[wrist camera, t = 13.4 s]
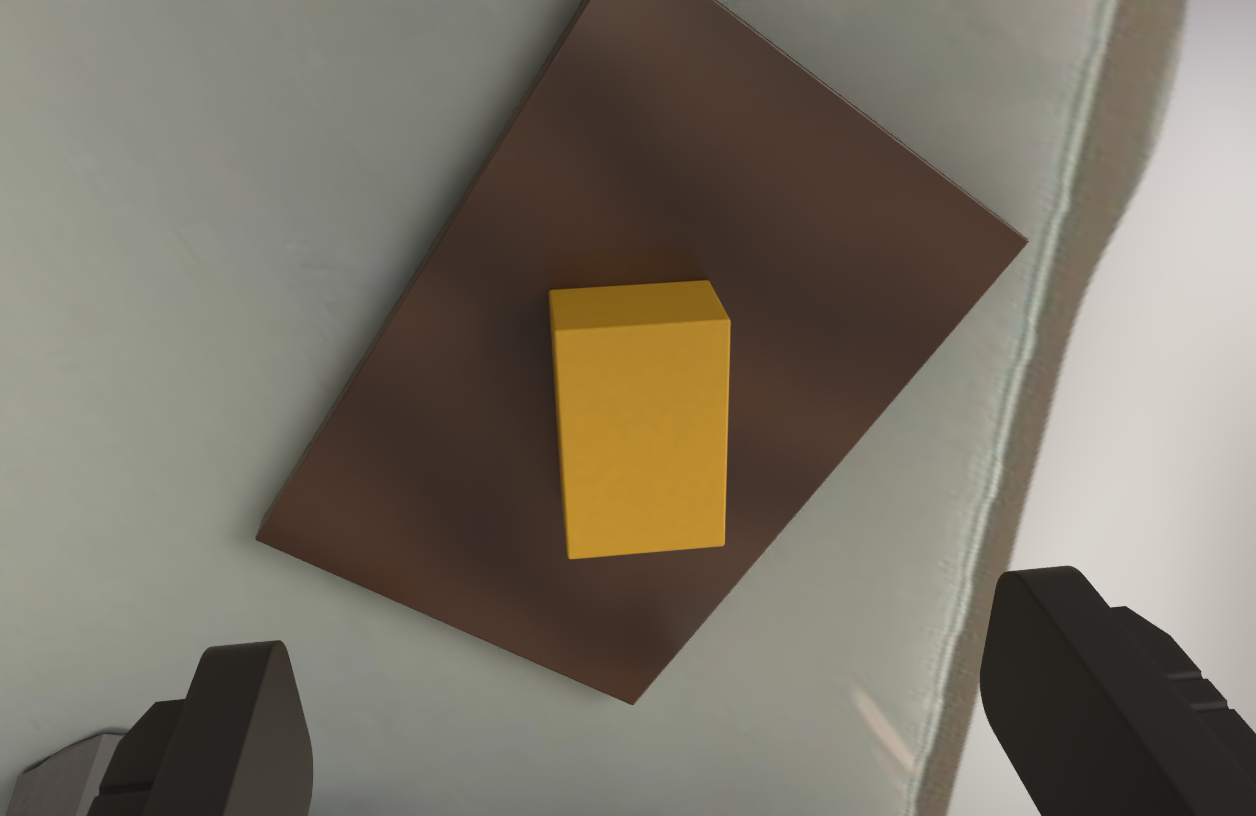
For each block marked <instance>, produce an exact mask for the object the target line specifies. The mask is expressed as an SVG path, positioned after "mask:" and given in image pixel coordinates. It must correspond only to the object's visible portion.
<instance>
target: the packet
mask: <svg viewBox="0 0 1256 816" xmlns="http://www.w3.org/2000/svg"><path fill="white" fill-rule="evenodd" d="M548 295H549V310H550V326H551V341H552V357H553V373H554V388H555V404H556V419H557V435H558V451H559V466H560V482H561V497H562V509H563V519H564V528H565V538H566V548H567V557H568V558H569V559H581V558H593V557H604V556H616V555H627V554H638V553H650V552H661V551H673V550H684V549H696V548H707V547H719V546H724V544H725V515H726V477H727V440H728V402H729V364H730V326H731V321H730V319H729V317H728V315H727V313H726V312H725V310H724V308H723V306H722V304H721V302H720V300H719V299H718V297H717V295H716V293H715V291H714V289H713V287H712V286H711V284H710V282H709V281H708V280H702V281H686V282H670V283H654V284H638V285H622V286H606V287H590V288H574V289H558V290H550V291H549V293H548Z"/></svg>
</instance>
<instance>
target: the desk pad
mask: <svg viewBox="0 0 1256 816" xmlns="http://www.w3.org/2000/svg"><path fill="white" fill-rule="evenodd" d="M1028 242H1029V241H1028V239H1027V238H1026V237H1024V236H1023V235H1022V234H1020V233H1019V232H1018V231H1017V230H1015V229H1014V228H1013V227H1011V226H1010V225H1009V224H1007V223H1006V222H1005V221H1004V220H1002V219H1001V218H1000V217H998V216H997V215H996V214H994V213H993V212H992V211H991V210H989V209H988V208H987V207H985V206H984V205H983V204H981V203H980V202H979V201H977V200H976V199H975V198H974V197H972V196H971V195H970V194H968V193H967V192H966V191H964V190H963V189H962V188H961V187H959V186H958V185H957V184H955V183H954V182H953V181H951V180H950V179H949V178H948V177H946V176H945V175H944V174H942V173H941V172H940V171H938V170H937V169H936V168H934V167H933V166H932V165H931V164H929V163H928V162H927V161H925V160H924V159H923V158H921V157H920V156H919V155H918V154H916V153H915V152H914V151H912V150H911V149H910V148H908V147H907V146H906V145H905V144H903V143H902V142H901V141H899V140H898V139H897V138H895V137H894V136H893V135H891V134H890V133H889V132H888V131H886V130H885V129H884V128H882V127H881V126H880V125H878V124H877V123H876V122H875V121H873V120H872V119H871V118H869V117H868V116H867V115H865V114H864V113H863V112H862V111H860V110H859V109H858V108H856V107H855V106H854V105H852V104H851V103H850V102H848V101H847V100H846V99H845V98H843V97H842V96H841V95H839V94H838V93H837V92H835V91H834V90H833V89H832V88H830V87H829V86H828V85H826V84H825V83H824V82H822V81H821V80H820V79H818V78H817V77H816V76H815V75H813V74H812V73H811V72H809V71H808V70H807V69H805V68H804V67H803V66H802V65H800V64H799V63H798V62H796V61H795V60H794V59H792V58H791V57H790V56H789V55H787V54H786V53H785V52H783V51H782V50H781V49H779V48H778V47H777V46H775V45H774V44H773V43H772V42H770V41H769V40H768V39H766V38H765V37H764V36H762V35H761V34H760V33H759V32H757V31H756V30H755V29H753V28H752V27H751V26H749V25H748V24H747V23H746V22H744V21H743V20H742V19H740V18H739V17H738V16H736V15H735V14H734V13H732V12H731V11H730V10H729V9H727V8H726V7H725V6H723V5H722V4H721V3H719V2H718V1H717V0H583V2H582V3H581V5H580V6H579V8H578V10H577V11H576V13H575V15H574V16H573V18H572V19H571V21H570V23H569V24H568V26H567V27H566V29H565V31H564V32H563V34H562V36H561V37H560V39H559V40H558V42H557V44H556V45H555V47H554V49H553V50H552V52H551V53H550V55H549V57H548V58H547V60H546V62H545V63H544V65H543V66H542V68H541V70H540V71H539V73H538V74H537V76H536V78H535V79H534V81H533V83H532V84H531V86H530V87H529V89H528V91H527V92H526V94H525V96H524V97H523V99H522V100H521V102H520V104H519V105H518V107H517V108H516V110H515V112H514V113H513V115H512V117H511V118H510V120H509V121H508V123H507V125H506V126H505V128H504V130H503V131H502V133H501V134H500V136H499V138H498V139H497V141H496V142H495V144H494V146H493V147H492V149H491V151H490V152H489V154H488V155H487V157H486V159H485V160H484V162H483V164H482V165H481V167H480V168H479V170H478V172H477V173H476V175H475V177H474V178H473V180H472V181H471V183H470V185H469V186H468V188H467V189H466V191H465V193H464V194H463V196H462V198H461V199H460V201H459V202H458V204H457V206H456V207H455V209H454V211H453V212H452V214H451V215H450V217H449V219H448V220H447V222H446V223H445V225H444V227H443V228H442V230H441V232H440V233H439V235H438V236H437V238H436V240H435V241H434V243H433V245H432V246H431V248H430V249H429V251H428V253H427V254H426V256H425V257H424V259H423V261H422V262H421V264H420V266H419V267H418V269H417V270H416V272H415V274H414V275H413V277H412V279H411V280H410V282H409V283H408V285H407V287H406V288H405V290H404V291H403V293H402V295H401V296H400V298H399V300H398V301H397V303H396V304H395V306H394V308H393V309H392V311H391V313H390V314H389V316H388V317H387V319H386V321H385V322H384V324H383V326H382V327H381V329H380V330H379V332H378V334H377V335H376V337H375V338H374V340H373V342H372V343H371V345H370V347H369V348H368V350H367V351H366V353H365V355H364V356H363V358H362V360H361V361H360V363H359V364H358V366H357V368H356V369H355V371H354V372H353V374H352V376H351V377H350V379H349V381H348V382H347V384H346V385H345V387H344V389H343V390H342V392H341V394H340V395H339V397H338V398H337V400H336V402H335V403H334V405H333V406H332V408H331V410H330V411H329V413H328V415H327V416H326V418H325V419H324V421H323V423H322V424H321V426H320V428H319V429H318V431H317V432H316V434H315V436H314V437H313V439H312V441H311V442H310V444H309V445H308V447H307V449H306V450H305V452H304V453H303V455H302V457H301V458H300V460H299V462H298V463H297V465H296V466H295V468H294V470H293V471H292V473H291V475H290V476H289V478H288V479H287V481H286V483H285V484H284V486H283V487H282V489H281V491H280V492H279V494H278V496H277V497H276V499H275V500H274V502H273V504H272V505H271V507H270V509H269V510H268V512H267V513H266V515H265V517H264V518H263V520H262V522H261V524H260V527H259V530H258V532H257V535H256V540H257V541H260V542H262V543H264V544H266V545H269V546H271V547H273V548H276V549H278V550H280V551H282V552H285V553H287V554H289V555H291V556H294V557H296V558H298V559H301V560H303V561H305V562H307V563H310V564H312V565H314V566H317V567H319V568H321V569H323V570H326V571H328V572H330V573H332V574H335V575H337V576H339V577H342V578H344V579H346V580H348V581H351V582H353V583H355V584H357V585H360V586H362V587H364V588H367V589H369V590H371V591H373V592H376V593H378V594H380V595H383V596H385V597H387V598H389V599H392V600H394V601H396V602H398V603H401V604H403V605H405V606H408V607H410V608H412V609H414V610H417V611H419V612H421V613H423V614H426V615H428V616H430V617H433V618H435V619H437V620H439V621H442V622H444V623H446V624H449V625H451V626H453V627H455V628H458V629H460V630H462V631H464V632H467V633H469V634H471V635H474V636H476V637H478V638H480V639H483V640H485V641H487V642H489V643H492V644H494V645H496V646H499V647H501V648H503V649H505V650H508V651H510V652H512V653H514V654H517V655H519V656H521V657H524V658H526V659H528V660H530V661H533V662H535V663H537V664H540V665H542V666H544V667H546V668H549V669H551V670H553V671H555V672H558V673H560V674H562V675H565V676H567V677H569V678H571V679H574V680H576V681H578V682H580V683H583V684H585V685H587V686H590V687H592V688H594V689H596V690H599V691H601V692H603V693H606V694H608V695H610V696H612V697H615V698H617V699H619V700H621V701H624V702H626V703H628V704H631V705H634V704H635V703H636V701H637V700H638V699H639V698H640V697H641V696H642V694H643V693H644V692H645V691H646V690H647V689H648V687H649V686H650V685H651V684H652V683H653V681H654V680H655V679H656V678H657V677H658V676H659V674H660V673H661V672H662V671H663V670H664V669H665V667H666V666H667V665H668V664H669V663H670V662H671V660H672V659H673V658H674V657H675V656H676V655H677V653H678V652H679V651H680V650H681V649H682V647H683V646H684V645H685V644H686V643H687V642H688V640H689V639H690V638H691V637H692V636H693V635H694V633H695V632H696V631H697V630H698V629H699V628H700V626H701V625H702V624H703V623H704V622H705V621H706V619H707V618H708V617H709V616H710V615H711V614H712V612H713V611H714V610H715V609H716V608H717V606H718V605H719V604H720V603H721V602H722V601H723V599H724V598H725V597H726V596H727V595H728V594H729V592H730V591H731V590H732V589H733V588H734V587H735V585H736V584H737V583H738V582H739V581H740V580H741V578H742V577H743V576H744V575H745V574H746V572H747V571H748V570H749V569H750V568H751V567H752V565H753V564H754V563H755V562H756V561H757V560H758V558H759V557H760V556H761V555H762V554H763V553H764V551H765V550H766V549H767V548H768V547H769V546H770V544H771V543H772V542H773V541H774V540H775V539H776V537H777V536H778V535H779V534H780V533H781V531H782V530H783V529H784V528H785V527H786V526H787V524H788V523H789V522H790V521H791V520H792V519H793V517H794V516H795V515H796V514H797V513H798V512H799V510H800V509H801V508H802V507H803V506H804V505H805V503H806V502H807V501H808V500H809V499H810V497H811V496H812V495H813V494H814V493H815V492H816V490H817V489H818V488H819V487H820V486H821V485H822V483H823V482H824V481H825V480H826V479H827V478H828V476H829V475H830V474H831V473H832V472H833V471H834V469H835V468H836V467H837V466H838V465H839V464H840V462H841V461H842V460H843V459H844V458H845V456H846V455H847V454H848V453H849V452H850V451H851V449H852V448H853V447H854V446H855V445H856V444H857V442H858V441H859V440H860V439H861V438H862V437H863V435H864V434H865V433H866V432H867V431H868V430H869V428H870V427H871V426H872V425H873V424H874V422H875V421H876V420H877V419H878V418H879V417H880V415H881V414H882V413H883V412H884V411H885V410H886V408H887V407H888V406H889V405H890V404H891V403H892V401H893V400H894V399H895V398H896V397H897V396H898V394H899V393H900V392H901V391H902V390H903V389H904V387H905V386H906V385H907V384H908V383H909V381H910V380H911V379H912V378H913V377H914V376H915V374H916V373H917V372H918V371H919V370H920V369H921V367H922V366H923V365H924V364H925V363H926V362H927V360H928V359H929V358H930V357H931V356H932V355H933V353H934V352H935V351H936V350H937V349H938V347H939V346H940V345H941V344H942V343H943V342H944V340H945V339H946V338H947V337H948V336H949V335H950V333H951V332H952V331H953V330H954V329H955V328H956V326H957V325H958V324H959V323H960V322H961V321H962V319H963V318H964V317H965V316H966V315H967V314H968V312H969V311H970V310H971V309H972V308H973V306H974V305H975V304H976V303H977V302H978V301H979V299H980V298H981V297H982V296H983V295H984V294H985V292H986V291H987V290H988V289H989V288H990V287H991V285H992V284H993V283H994V282H995V281H996V280H997V278H998V277H999V276H1000V275H1001V274H1002V272H1003V271H1004V270H1005V269H1006V268H1007V267H1008V265H1009V264H1010V263H1011V262H1012V261H1013V260H1014V258H1015V257H1016V256H1017V255H1018V254H1019V253H1020V251H1021V250H1022V249H1023V248H1024V247H1025V246H1026V244H1027V243H1028ZM702 280H708V281H709V282H710V284H711V286H712V287H713V289H714V291H715V293H716V295H717V297H718V299H719V300H720V302H721V304H722V306H723V308H724V310H725V312H726V313H727V315H728V317H729V319H730V321H731V326H730V364H729V402H728V440H727V477H726V515H725V544H724V546H719V547H707V548H696V549H684V550H673V551H661V552H650V553H638V554H627V555H616V556H604V557H593V558H581V559H569V558H568V557H567V548H566V538H565V528H564V519H563V509H562V497H561V482H560V466H559V451H558V435H557V419H556V404H555V388H554V373H553V357H552V341H551V326H550V310H549V295H548V293H549V291H550V290H558V289H574V288H590V287H606V286H622V285H638V284H654V283H670V282H686V281H702Z"/></svg>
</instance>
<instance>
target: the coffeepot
mask: <svg viewBox="0 0 1256 816" xmlns="http://www.w3.org/2000/svg"><path fill="white" fill-rule="evenodd" d="M126 734H127V733H126ZM126 734H112V735H109V734H101V735H99V736H96V737H93V738H90V739H87V740H84V741H82V742H79V743H77V744H74V745H72V746H69V747H67V748H64V749H63V750H61V751H59V752H58V753H56V754H55V755H53V756H52V757H50V758H48V759H47V760H45V761H44V762H43V763H42V764H41V765H40V766H38V767H36V768H34V769H32V770H30V771H28V772H26V773H25V774H23V775H21V776H19V777H18V778H17V781H16V784H15V788H14V791H13V794H12V797H11V800H10V804H9V807H8V810H7V813H6V816H86V815H87V813H88V811H89V808H90V806H91V804H92V802H93V799H94V797H95V796H98V795H99V785H100V783H101V781H102V779H103V776H104V774H105V772H106V769H107V767H108V765H109V763H110V760H111V758H112V756H113V753H114V751H115V749H116V747H117V744H118V742H119V741H120V740H121V739H122V738H123V737H124V736H125V735H126Z"/></svg>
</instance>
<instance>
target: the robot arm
mask: <svg viewBox="0 0 1256 816" xmlns="http://www.w3.org/2000/svg"><path fill="white" fill-rule="evenodd" d="M980 691H981V697H982V703H983V707H984V710H985V713H986V716H987V719H988V721H989V724H990V726H991V727H992V729H993V732H994V733H995V735H996V737H997V739H998V740H999V742H1000V744H1001V745H1002V747H1003V749H1004V751H1005V753H1006V754H1007V756H1008V758H1009V760H1010V761H1011V763H1012V765H1013V767H1014V768H1015V770H1016V772H1017V774H1018V775H1019V777H1020V779H1021V781H1022V782H1023V784H1024V786H1025V788H1026V790H1027V791H1028V793H1029V795H1030V796H1031V798H1032V800H1033V802H1034V804H1035V805H1036V807H1037V809H1038V811H1039V812H1040V814H1041V816H1256V734H1255V732H1254V731H1253V730H1252V729H1251V728H1250V727H1249V726H1248V724H1247V723H1246V722H1245V721H1244V720H1243V719H1242V718H1241V716H1240V715H1239V714H1238V713H1237V712H1236V711H1235V710H1234V709H1229V708H1228V706H1227V700H1226V699H1225V698H1224V697H1223V696H1222V695H1221V693H1220V692H1219V691H1218V690H1217V689H1216V688H1215V687H1214V685H1213V684H1212V683H1211V682H1210V681H1209V680H1208V679H1203V678H1202V676H1201V670H1200V669H1199V668H1198V667H1197V666H1196V665H1195V664H1194V663H1193V661H1192V660H1191V659H1190V658H1189V657H1188V655H1187V654H1186V653H1185V652H1184V651H1183V650H1182V649H1181V648H1180V646H1179V645H1178V644H1177V643H1176V642H1175V641H1174V639H1173V638H1172V637H1171V636H1170V635H1169V634H1167V633H1166V632H1164V631H1163V630H1161V629H1159V628H1158V627H1157V626H1155V625H1153V624H1152V623H1150V622H1149V621H1147V620H1146V619H1144V618H1143V617H1141V616H1140V615H1138V614H1137V613H1135V612H1134V611H1132V610H1131V609H1129V608H1128V607H1126V606H1122V607H1112V608H1110V607H1109V606H1108V605H1107V603H1106V602H1105V601H1104V599H1103V598H1102V597H1101V596H1100V594H1099V593H1098V592H1097V591H1096V590H1095V588H1094V587H1093V586H1092V585H1091V584H1090V582H1089V581H1088V580H1087V579H1086V577H1085V576H1084V575H1083V574H1082V573H1081V572H1080V571H1079V570H1077V569H1076V568H1074V567H1072V566H1059V567H1050V568H1038V569H1028V570H1018V571H1008V572H1004V573H1003V574H1002V575H1001V576H1000V578H999V579H998V582H997V585H996V589H995V594H994V600H993V605H992V610H991V616H990V621H989V626H988V632H987V637H986V642H985V648H984V653H983V658H982V664H981V669H980ZM312 786H313V756H312V747H311V741H310V736H309V733H308V729H307V725H306V721H305V717H304V713H303V709H302V705H301V701H300V698H299V694H298V690H297V686H296V682H295V678H294V674H293V670H292V666H291V663H290V659H289V655H288V652H287V649H286V647H285V645H284V643H283V642H282V641H280V640H276V641H266V642H255V643H245V644H235V645H225V646H214V647H209V648H207V649H206V650H205V652H204V653H203V655H202V657H201V659H200V662H199V664H198V667H197V670H196V672H195V675H194V677H193V680H192V683H191V685H190V688H189V691H188V693H187V696H186V699H181V700H171V701H161V702H155V703H154V704H153V705H152V707H151V708H150V709H149V710H148V711H147V712H146V713H145V714H144V715H143V716H142V717H141V718H140V720H139V721H138V722H137V723H136V724H135V725H134V726H133V727H132V728H131V729H130V730H129V731H128V733H127V734H126V735H125V736H124V737H123V738H122V739H121V740H120V741H119V742H118V744H117V747H116V749H115V751H114V753H113V756H112V758H111V760H110V763H109V765H108V767H107V769H106V772H105V774H104V776H103V779H102V781H101V783H100V785H99V795H98V796H95V797H94V799H93V802H92V804H91V806H90V808H89V811H88V813H87V815H86V816H308V812H309V807H310V802H311V796H312Z"/></svg>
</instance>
